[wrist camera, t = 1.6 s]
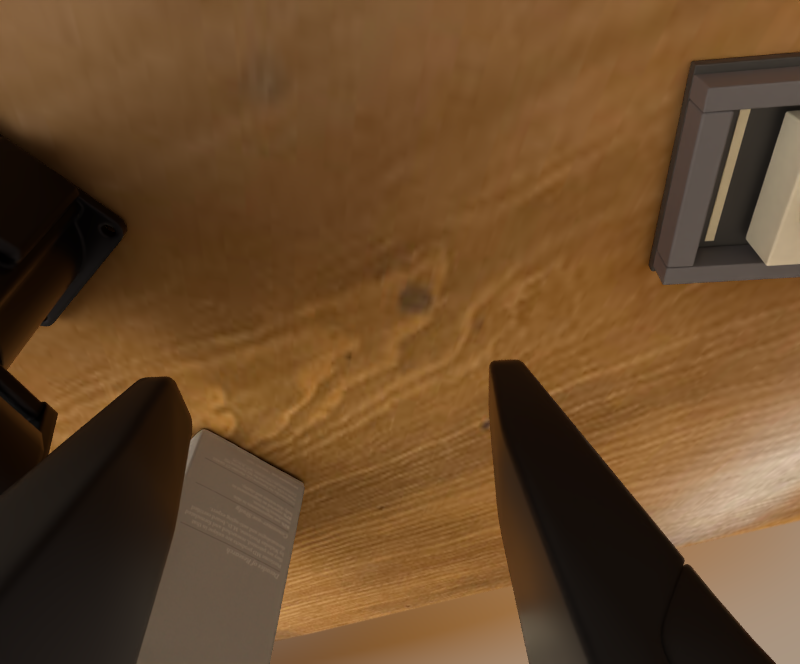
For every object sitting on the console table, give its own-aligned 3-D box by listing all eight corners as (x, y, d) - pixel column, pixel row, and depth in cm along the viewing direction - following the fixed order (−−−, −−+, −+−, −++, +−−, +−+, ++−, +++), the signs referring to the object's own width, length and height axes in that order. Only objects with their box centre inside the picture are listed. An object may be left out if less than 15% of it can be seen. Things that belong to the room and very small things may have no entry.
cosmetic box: (226, 541, 35) (126, 918, 23) (111, 490, 32) (-73, 892, 20) (315, 479, 31) (250, 896, 19) (193, 413, 28) (25, 859, 16)
